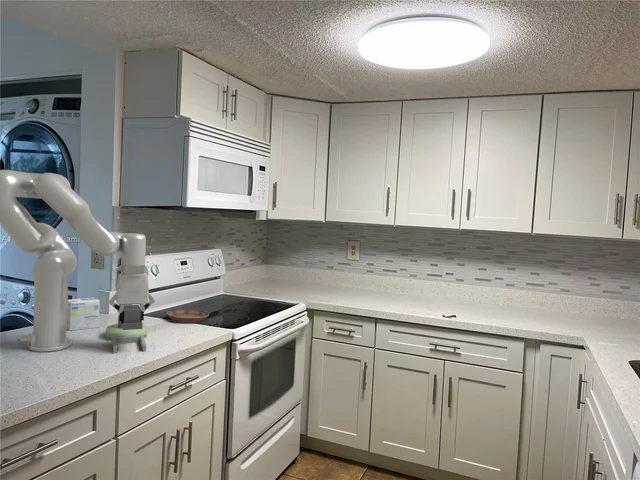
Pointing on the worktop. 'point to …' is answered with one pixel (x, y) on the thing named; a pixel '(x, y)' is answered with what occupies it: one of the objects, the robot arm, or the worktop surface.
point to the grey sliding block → (132, 317)
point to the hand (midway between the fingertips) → (131, 322)
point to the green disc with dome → (126, 335)
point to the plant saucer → (187, 315)
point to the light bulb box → (83, 313)
